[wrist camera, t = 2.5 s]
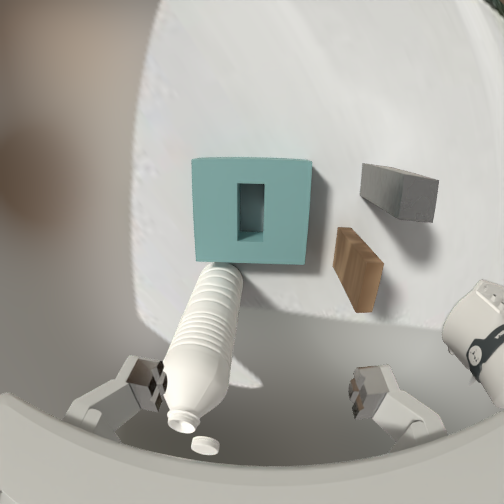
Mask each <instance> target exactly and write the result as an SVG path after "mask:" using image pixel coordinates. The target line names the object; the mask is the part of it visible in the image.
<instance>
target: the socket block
mask: <svg viewBox="0 0 504 504" xmlns="http://www.w3.org/2000/svg"><path fill="white" fill-rule="evenodd" d="M311 177H312V161H309V160H303V159H286V158H256V157H213V158H197V159H192V196H193V219H194V237H195V252H196V261H200V262H229V263H260V264H296V265H305V255H306V245H307V233H308V221H309V208H310V193H311ZM240 183H246V184H265V188H264V225H263V232H247V231H240Z"/></svg>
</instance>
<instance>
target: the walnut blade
mask: <svg viewBox="0 0 504 504" xmlns="http://www.w3.org/2000/svg"><path fill="white" fill-rule="evenodd" d="M383 266H384V263H383V262H382V261H381V260H380V259H379V257H378V256H377V255H376V254H375V253H374V252H373V251H372V250H371V249H370V248H369V246H368V245H367V244H366V243H365V242H364V241H363V240H362V239H361V238H360V237H359V236H358V235H357V234H356V232H355V231H354V230H353V229H352V228H345V227H338V230H337V238H336V246H335V254H334V261H333V268H334V270H335V272H336V274H337V276H338V278H339V279H340V281H341V283H342V285H343V287H344V290H345V292H346V294H347V296H348V298H349V300H350V302H351V304H352V306H353V308H354V310H355V312H356V313H367V312H372V310H373V306H374V303H375V299H376V295H377V291H378V287H379V283H380V279H381V275H382V270H383Z"/></svg>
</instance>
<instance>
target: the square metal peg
mask: <svg viewBox="0 0 504 504" xmlns="http://www.w3.org/2000/svg"><path fill="white" fill-rule="evenodd" d="M438 185H439V180H436V179H432V178H429V177H426V176H422V175H419V174H415V173H412V172H408V171H404V170H400V169H396V168H392V167H387V166H380V165H373V164H365V163H362V177H361V188H360V196H362V197H363V198H365V199H367V200H368V201H370V202H372V203H373V204H375V205H377V206H378V207H380V208H381V209H383V210H385V211H386V212H388V213H389V214H391V215H392V216H394V217H396V218H397V219H400V220H411V221H421V222H431V223H433V218H434V212H435V206H436V200H437V192H438Z"/></svg>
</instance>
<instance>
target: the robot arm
mask: <svg viewBox="0 0 504 504" xmlns="http://www.w3.org/2000/svg"><path fill="white" fill-rule="evenodd" d="M442 339H443V342H444V343H445V344H446V345H447V346H448V351H449V353H450V354H452V355H453V354H455V355H456V357H457V358H458V359H459V360H460V361H461V362H462V364H463V365H464V366H465V367H466V368H467V369H470V371H471V372H472V374H473V377H474V378H475V379H476V380H477V381H478V382H480V383H481V384H482V385H483V387H484V389H485V390H486V392H487V394H488V395H489V397H490V399H491V400H492V402H493V404H494V405H495V406H496V407H498V408H501V409H504V286H501V285H498V284H495V283H492V282H488V281H485V280H480V281H479V282H478V283H477V284H476V286H475V287H474V288H473V290H472V291H471V292H470V293H469V294H467V295H466V296H465V297H464V298H462V299H461V300H460V301H459V302H458V303H457V305H456V306H455V307H454V308H453V310H452V311H451V312H450V314H449V316H448V318H447V319H446V322H445V324H444V327H443V331H442ZM163 369H164V364H163V361H159V360H153V359H148V358H143V357H137V356H133V355H130V356H128V357H127V359H126V361H125V363H124V364H123V366H122V368H121V370H120V372H119V374H118V375H117V377H116V379H115V380H113V379H112V380H110V381H108V382H106V383H105V384H103V385H101V386H100V387H98V388H96V389H94V390H92V391H90V392H89V393H87V394H85V395H83V396H81V397H80V398H78V399H76V400H74V401H73V403H72V405H71V406H70V408H69V409H68V411H67V413H66V415H65V417H64V418H63V420H60V419H58V418H56V417H54V416H52V415H50V414H48V413H46V412H44V411H42V410H40V409H38V408H37V407H35V406H33V405H31V404H30V403H28V402H26V401H24V400H23V399H21V398H19V397H18V396H16V395H14V394H12V393H9V392H7V393H3V394H1V395H0V504H504V411H500V412H498V413H496V414H495V415H492V416H491V417H488V418H487V419H484V420H482V421H480V422H478V423H476V424H474V425H472V426H470V427H467V428H465V429H463V430H460V431H458V432H455V433H453V434H450V435H448V434H447V431H446V429H445V427H444V424H443V422H442V420H441V418H440V415H439V414H437V413H436V412H434V411H433V410H431V409H430V408H429V407H427V406H426V405H424V404H423V403H421V402H420V401H418V400H417V399H415V398H414V397H413V396H411V395H410V394H408V393H407V392H406V391H404V390H400V388H399V385H398V383H397V381H396V378H395V376H394V374H393V372H392V370H391V368H390V366H389V365H388V364H387V365H378V366H368V367H359V368H356V369H355V371H354V373H353V374H354V378H353V379H352V380H351V381H350V384H349V391H348V392H349V398H350V401H352V402H353V403H354V405H353V407H352V411H353V415H354V419H355V420H357V419H365V418H373V420H374V421H375V422H376V423H377V424H378V425H379V426H380V427H382V428H383V430H384V431H385V432H386V433H387V434H388V435H389V436H390V437H391V438H392V439H393V440H394V441H395V442H396V444H395V445H394V446H393V447H392V448H391V449H390V451H389V452H388V454H384V455H380V456H375V457H370V458H364V459H359V460H352V461H346V462H338V463H329V464H319V465H306V466H281V467H280V466H279V467H278V466H275V467H274V466H244V465H230V464H220V463H210V462H203V461H196V460H190V459H184V458H179V457H174V456H169V455H164V454H159V453H155V452H151V451H147V450H143V449H139V448H136V447H132V446H128V445H126V444H122V443H121V441H120V439H119V438H118V436H117V435H116V434H115V432H114V431H115V430H117V429H118V428H119V427H120V426H122V425H123V424H124V423H125V422H126V421H128V420H129V419H130V418H131V417H133V416H134V415H135V414H136V413H137V412H139V411H140V410H141V409H144V410H150V411H154V412H159V409H160V406H161V403H162V398H161V396H162V395H163V394H165V392H166V389H167V383H168V381H167V375H166V373H165V372H164V371H163Z"/></svg>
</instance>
